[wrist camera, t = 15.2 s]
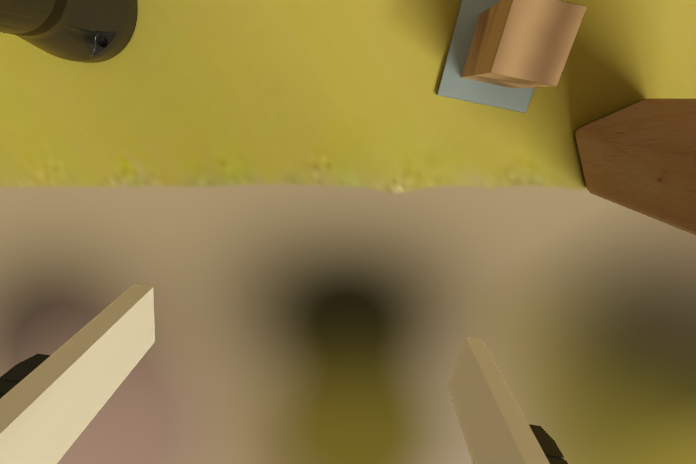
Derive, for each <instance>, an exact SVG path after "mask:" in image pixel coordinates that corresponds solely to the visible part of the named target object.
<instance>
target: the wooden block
mask: <svg viewBox="0 0 696 464" xmlns="http://www.w3.org/2000/svg"><path fill="white" fill-rule="evenodd" d="M575 137H576V142H577V146H578V151H579V155H580V160H581V164H582V169H583V173H584V178H585V182H586V187H587V189H588V190H589V192H590V193H592V194H594V195H597V196H600V197H602V198H604V199H607V200H609V201H612V202H614V203H617V204H619V205H622V206H624V207H627V208H629V209H632V210H634V211H637V212H639V213H642V214H645V215H647V216H649V217H652V218H654V219H657V220H659V221H662V222H664V223H667V224H669V225H671V226H674V227H676V228H679V229H681V230H684V231H686V232H689V233H691V234H694V235H696V99H644V100H642V101H640V102H637V103H635V104H633V105H630V106H628V107H626V108H624V109H621V110H619V111H617V112H615V113H612V114H610V115H608V116H605V117H603V118H601V119H599V120H596V121H594V122H592V123H590V124H587V125H585V126H583V127H581V128H579V129H578V130H577V131H576V133H575Z"/></svg>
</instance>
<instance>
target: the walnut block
mask: <svg viewBox="0 0 696 464" xmlns="http://www.w3.org/2000/svg"><path fill="white" fill-rule="evenodd" d="M586 8H587V7H586V6H582V5H577V4H573V3H568V2H564V1H559V0H501V1H499V2H498V3H496V4H495V5H493V6H492V7H490V8H489V9H487V10H485V11H484V12H482V13H481V14H479V16H478V19H477V23H476V26H475V30H474V33H473V37H472V40H471V44H470V47H469V51H468V54H467V58H466V62H465V65H464V69H463V72H462V76H461V78H465V79H470V80H475V81H479V82H484V83H489V84H494V85H499V86H504V87H508V88H513V89H514V88H533V87H553V86H557V84H558V82H559V79H560V76H561V74H562V71H563V69H564V66H565V63H566V61H567V58H568V55H569V53H570V50H571V48H572V45H573V42H574V40H575V37H576V34H577V32H578V29H579V27H580V24H581V21H582V19H583V16H584V13H585V11H586Z"/></svg>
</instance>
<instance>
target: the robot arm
mask: <svg viewBox="0 0 696 464" xmlns="http://www.w3.org/2000/svg"><path fill="white" fill-rule="evenodd" d="M136 21H137V0H0V32H3V33H9V34H14V35H17V36H19V37H20V38H22V39H24V40H26V41H27V42H29V43H31V44H33V45H35V46H36V47H38V48H40V49H42V50H44V51H45V52H47V53H49V54H51V55H54V56H56V57H59V58H63V59H66V60H71V61H78V62H86V63H96V62H102V61H106V60H108V59H111V58H113V57H114V56H116V55H117V54H119V53H120V52H121V51H122V50H123V49H124V48H125V47H126V45H127V44H128V43H129V41H130V39H131V37H132V35H133V32H134V30H135V26H136ZM154 342H155V329H154V299H153V287H149V286H143V285H137V284H133V285H132V286H131V287H130V288H129V289H128V290H126V291H125V292H124V293H123V294H122V295H120V296H119V297H118V298H117V299H116V300H115V301H113V302H112V303H111V304H110V305H109V306H108V307H107V308H105V309H104V310H103V311H102V312H101V313H100V314H99V315H97V316H96V317H95V318H94V319H93V320H91V321H90V322H89V323H88V324H87V325H86V326H84V328H82V329H81V330H80V331H79V332H77V333H76V334H75V335H74V336H73V337H72V338H71V339H69V340H68V341H67V342H66V343H65V344H64V345H62V346H61V347H60V348H59V349H58V350H57V351H55V352H54V353H53V354H52V355H51V356H50V355H42V354H36V355H34V356H33V357H31V358H29V359H27V360H25V361H23V362H21V363H19V364H17V365H15V366H14V367H13V368H12V369H10V370H9V371H8V372H7V373H6V374H4V375H3V376H2V377H0V464H57V463H58V461H59V460H60V459H61V458H62V456H63V455H64V454H65V453H66V451H67V450H68V449H69V448H70V446H71V445H72V444H73V443H74V441H75V440H76V439H77V438H78V436H79V435H80V434H81V433H82V431H83V430H84V429H85V428H86V426H87V425H88V424H89V423H90V421H91V420H92V419H93V418H94V416H95V415H96V414H97V413H98V411H99V410H100V409H101V408H102V406H103V405H104V404H105V403H106V402H107V400H108V399H109V398H110V397H111V395H112V394H113V393H114V392H115V390H116V389H117V388H118V386H119V385H120V384H121V383H122V382H123V380H124V379H125V378H126V377H127V375H128V374H129V373H130V371H131V370H132V369H133V368H134V367H135V366H136V364H137V363H138V362H139V361H140V359H141V358H142V357H143V356H144V354H145V353H146V352H147V351H148V349H149V348H150V346H152V344H153V343H154ZM447 386H448V389H449V392H450V395H451V398H452V402H453V405H454V408H455V411H456V413H457V417H458V420H459V423H460V426H461V429H462V432H463V435H464V438H465V441H466V444H467V447H468V450H469V453H470V456H471V459H472V462H473V464H568V463H567V462H566V460H564V457H563V455H562V453H561V452H560V450H559V448H558V447H557V445H556V443H555V441H554V440H553V439H552V438H551V437H550V436H549V435H548V434H547V433H546V432H545V431H544V430H543V429H542V427H541V426H536V425H529V424H528V422H527V421H526V419H525V417H524V415H523V413H522V411H521V409H520V408H519V406H518V404H517V402H516V400H515V398H514V396H513V395H512V393H511V391H510V389H509V387H508V385H507V383H506V382H505V380H504V378H503V376H502V374H501V372H500V371H499V369H498V367H497V365H496V363H495V362H494V359H493V358H492V356H491V354H490V352H489V350H488V348H487V347H486V345H485V343H484V341H483V340H480V339H475V338H469V337H466V338H465V340H464V343H463V346H462V348H461V351H460V353H459V356H458V358H457V361H456V364H455V366H454V369H453V372H452V374H451V377H450V379H449V382H448V384H447Z"/></svg>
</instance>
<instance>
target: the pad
mask: <svg viewBox="0 0 696 464" xmlns="http://www.w3.org/2000/svg"><path fill="white" fill-rule="evenodd" d="M499 1H501V0H462V1H461V5H460V8H459V12H458V16H457V20H456V24H455V27H454V31H453V35H452V39H451V43H450V46H449V50H448V54H447V58H446V62H445V65H444V69H443V73H442V77H441V81H440V84H439V88H438V92H437V95H440V96H445V97H450V98H455V99H459V100H464V101H469V102H474V103H479V104H484V105H489V106H494V107H499V108H504V109H509V110H513V111H518V112H523V113H526V110H527V108H528V105H529V102H530V99H531V97H532V94H533V91H534V88H535V87H533V88H514V89H513V88H508V87H504V86H499V85H494V84H489V83H484V82H479V81H475V80H470V79H465V78H461V76H462V72H463V69H464V65H465V62H466V58H467V54H468V51H469V47H470V44H471V40H472V37H473V33H474V30H475V26H476V23H477V19H478V16H479V14H481V13H482V12H484V11H485V10H487V9H489V8H490V7H492V6H493V5H495V4H496V3H498V2H499Z"/></svg>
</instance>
